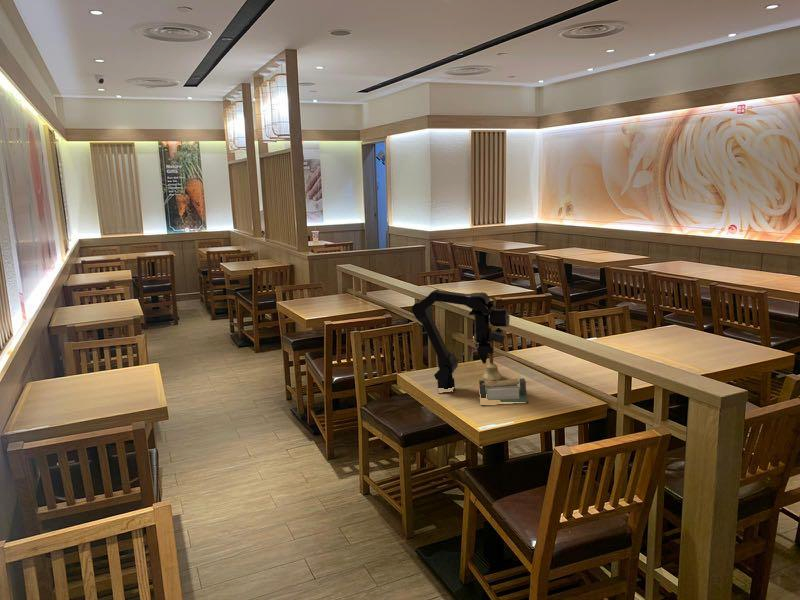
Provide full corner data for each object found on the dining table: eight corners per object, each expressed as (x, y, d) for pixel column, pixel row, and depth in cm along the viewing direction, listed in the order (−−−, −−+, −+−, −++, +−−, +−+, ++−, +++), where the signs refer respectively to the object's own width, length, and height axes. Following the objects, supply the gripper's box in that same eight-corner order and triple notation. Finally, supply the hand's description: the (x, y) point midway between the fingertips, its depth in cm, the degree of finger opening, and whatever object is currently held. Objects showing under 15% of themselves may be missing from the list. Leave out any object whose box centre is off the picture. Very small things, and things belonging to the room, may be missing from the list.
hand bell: (491, 382, 248) (489, 346, 244) (478, 377, 255) (476, 342, 251) (506, 377, 252) (504, 341, 248) (493, 372, 259) (491, 337, 255)
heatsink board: (480, 406, 227) (479, 390, 225) (478, 391, 240) (477, 376, 239) (528, 403, 225) (527, 387, 224) (523, 388, 239) (522, 373, 237)
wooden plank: (482, 387, 231) (482, 385, 231) (482, 384, 234) (481, 382, 234) (519, 383, 230) (518, 381, 229) (518, 380, 232) (517, 378, 232)
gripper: (505, 331, 221) (507, 370, 224) (500, 317, 239) (502, 353, 242) (475, 333, 221) (478, 372, 225) (472, 319, 240) (475, 355, 243)
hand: (484, 363), depth 234 cm, fingers closed
